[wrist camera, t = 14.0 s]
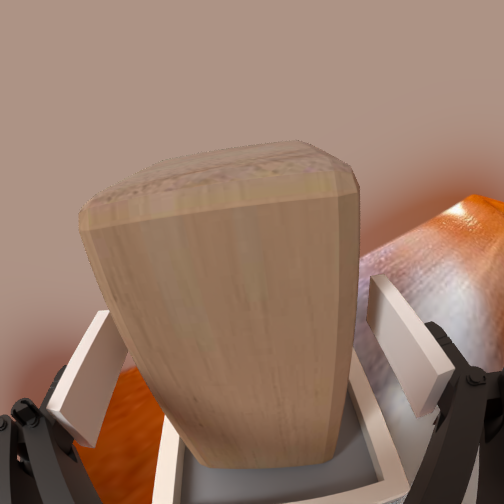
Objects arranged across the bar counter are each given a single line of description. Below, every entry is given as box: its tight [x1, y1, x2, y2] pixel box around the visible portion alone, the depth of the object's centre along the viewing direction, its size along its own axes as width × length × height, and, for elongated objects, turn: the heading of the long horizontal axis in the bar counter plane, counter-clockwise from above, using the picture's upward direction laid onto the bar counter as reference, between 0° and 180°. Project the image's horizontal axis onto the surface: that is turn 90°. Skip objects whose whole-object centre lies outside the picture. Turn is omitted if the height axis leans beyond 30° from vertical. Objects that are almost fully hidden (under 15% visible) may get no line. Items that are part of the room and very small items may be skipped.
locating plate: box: [152, 348, 410, 504], centre depth 20 cm, size 17×17×3 cm
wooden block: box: [79, 140, 360, 469], centre depth 17 cm, size 10×10×20 cm
